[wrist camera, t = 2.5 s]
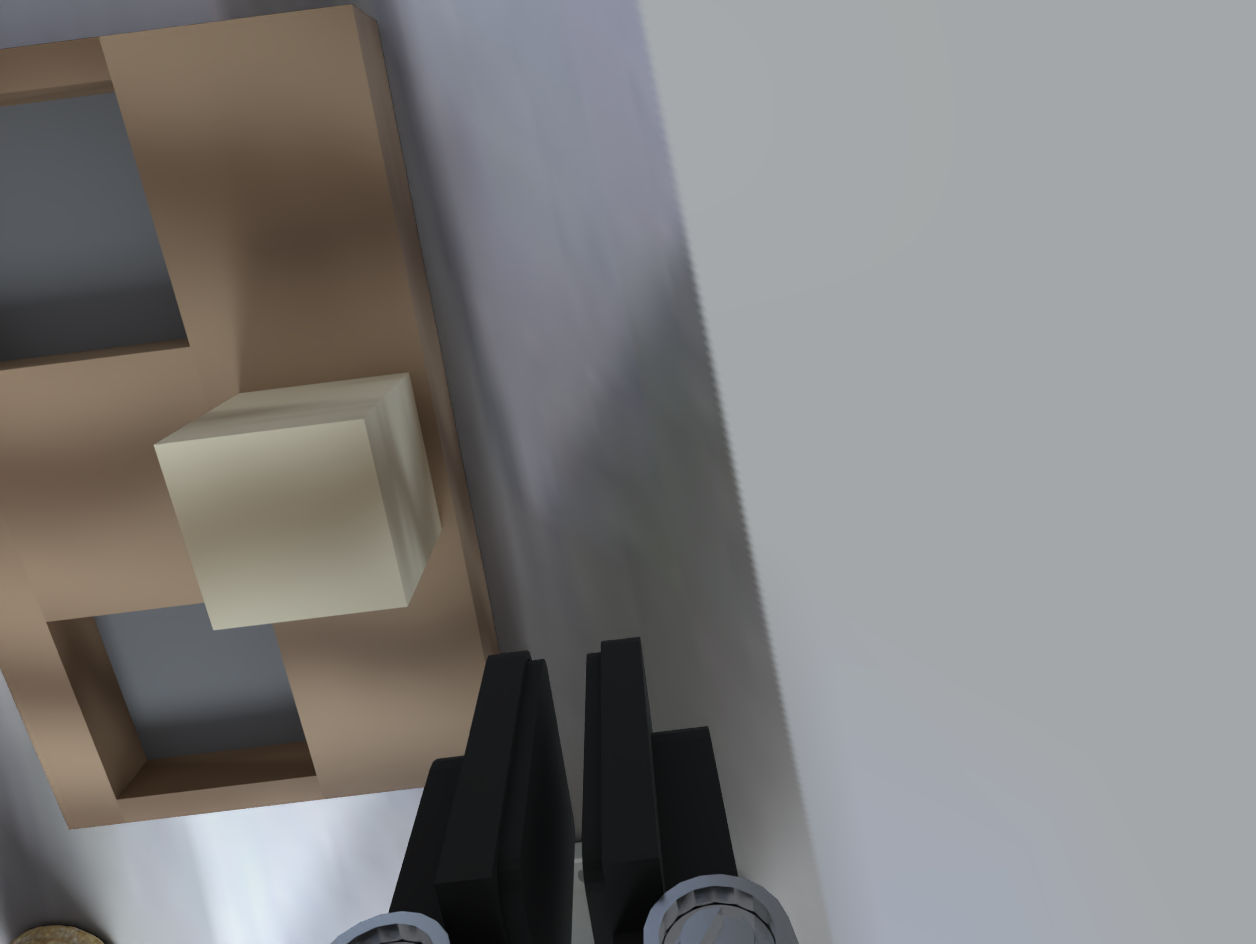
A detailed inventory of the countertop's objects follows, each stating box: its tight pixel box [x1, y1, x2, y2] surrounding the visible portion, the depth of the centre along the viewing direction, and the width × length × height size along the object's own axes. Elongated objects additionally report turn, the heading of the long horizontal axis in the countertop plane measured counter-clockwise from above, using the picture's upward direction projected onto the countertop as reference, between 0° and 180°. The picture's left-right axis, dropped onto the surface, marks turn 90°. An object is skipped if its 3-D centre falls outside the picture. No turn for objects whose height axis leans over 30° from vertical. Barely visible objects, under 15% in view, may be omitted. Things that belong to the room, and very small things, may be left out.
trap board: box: [0, 4, 500, 830], centre depth 26 cm, size 24×21×4 cm
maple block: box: [154, 372, 442, 630], centre depth 23 cm, size 5×5×5 cm
